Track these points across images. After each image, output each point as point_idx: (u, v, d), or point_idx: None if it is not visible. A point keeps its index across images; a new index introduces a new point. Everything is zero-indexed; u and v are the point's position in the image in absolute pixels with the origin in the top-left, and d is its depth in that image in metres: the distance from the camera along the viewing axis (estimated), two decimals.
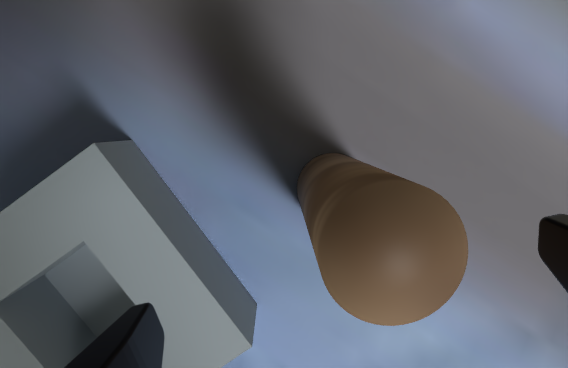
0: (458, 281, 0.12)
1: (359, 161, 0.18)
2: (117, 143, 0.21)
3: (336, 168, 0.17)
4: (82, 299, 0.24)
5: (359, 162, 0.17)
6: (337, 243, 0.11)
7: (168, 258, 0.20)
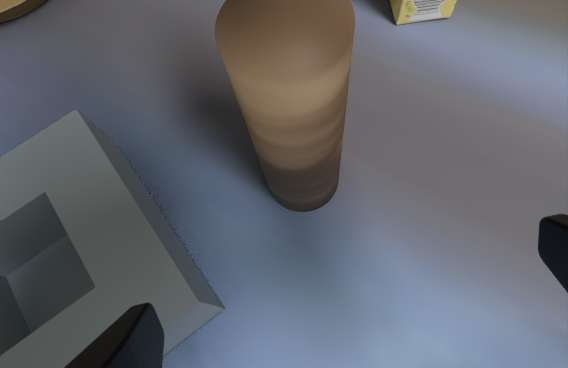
0: (349, 37, 0.12)
1: None
2: (101, 132, 0.24)
3: None
4: (36, 305, 0.22)
5: None
6: (232, 18, 0.12)
7: (121, 204, 0.19)
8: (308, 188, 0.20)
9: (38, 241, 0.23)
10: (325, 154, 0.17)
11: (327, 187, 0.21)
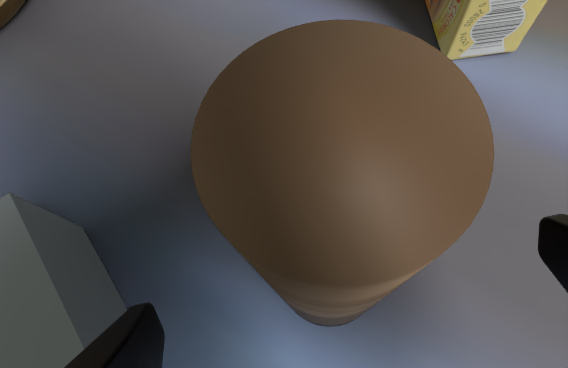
0: (486, 174, 0.05)
1: None
2: (52, 215, 0.17)
3: None
4: None
5: None
6: (226, 121, 0.06)
7: (62, 351, 0.13)
8: (344, 320, 0.13)
9: None
10: None
11: None
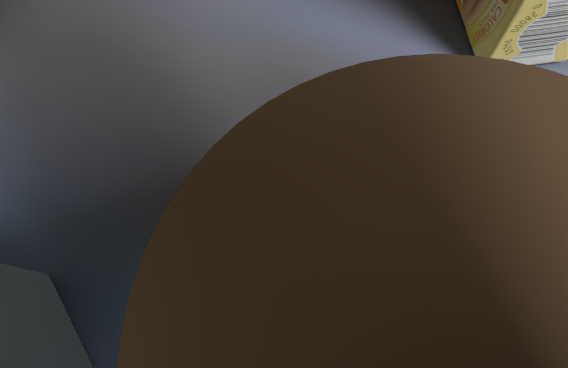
0: None
1: None
2: (6, 267, 0.14)
3: None
4: None
5: None
6: (201, 294, 0.03)
7: None
8: None
9: None
10: None
11: None
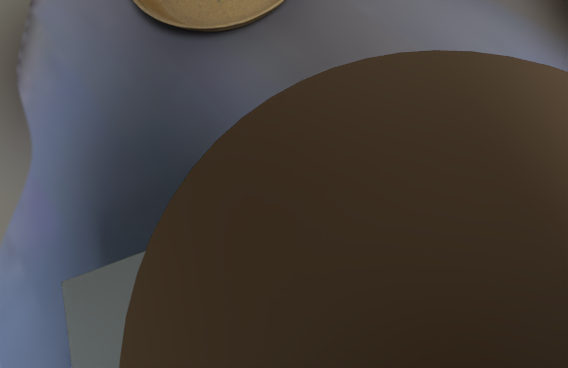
0: None
1: None
2: None
3: None
4: None
5: None
6: (204, 288, 0.03)
7: None
8: None
9: None
10: None
11: None
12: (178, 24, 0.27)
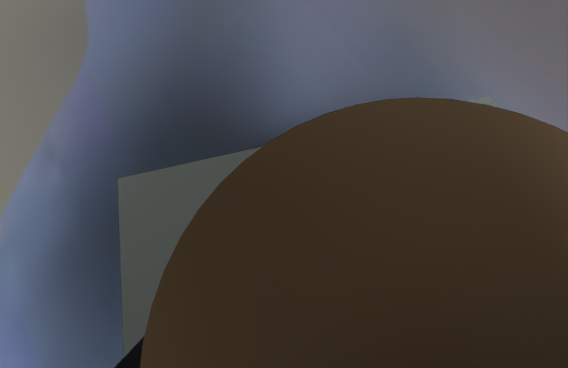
0: None
1: None
2: None
3: None
4: None
5: None
6: (212, 318, 0.03)
7: None
8: None
9: None
10: None
11: None
12: None
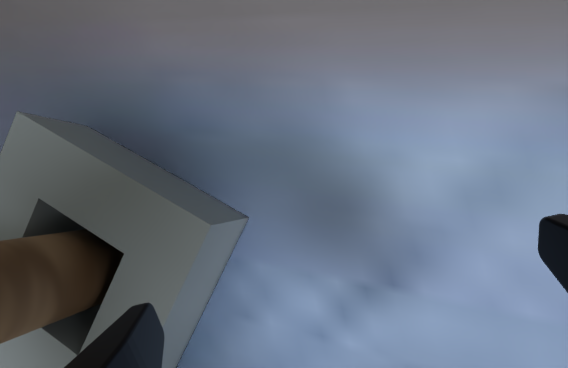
0: None
1: None
2: (57, 120, 0.24)
3: None
4: None
5: None
6: None
7: (104, 176, 0.20)
8: (98, 293, 0.20)
9: None
10: (51, 292, 0.17)
11: None
12: None
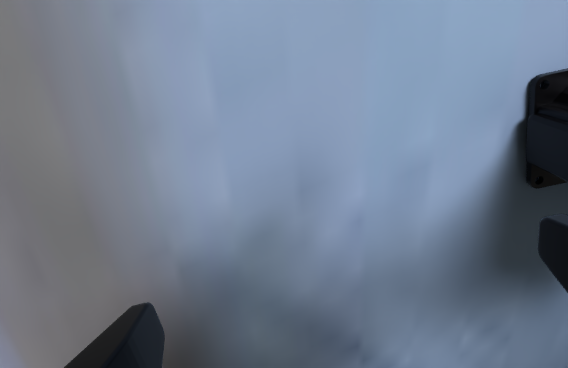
0: None
1: None
2: None
3: None
4: None
5: None
6: None
7: None
8: None
9: None
10: None
11: None
12: None
